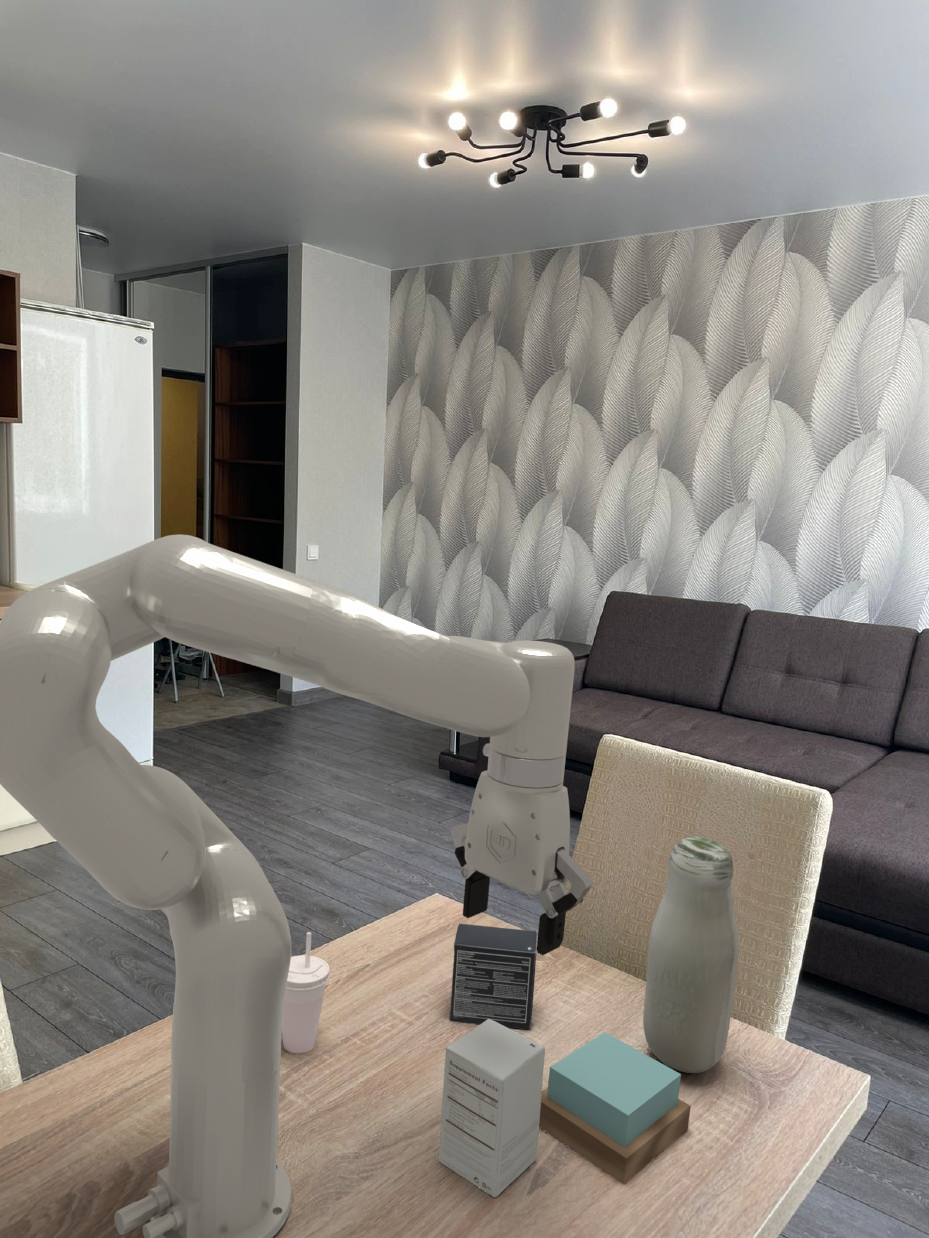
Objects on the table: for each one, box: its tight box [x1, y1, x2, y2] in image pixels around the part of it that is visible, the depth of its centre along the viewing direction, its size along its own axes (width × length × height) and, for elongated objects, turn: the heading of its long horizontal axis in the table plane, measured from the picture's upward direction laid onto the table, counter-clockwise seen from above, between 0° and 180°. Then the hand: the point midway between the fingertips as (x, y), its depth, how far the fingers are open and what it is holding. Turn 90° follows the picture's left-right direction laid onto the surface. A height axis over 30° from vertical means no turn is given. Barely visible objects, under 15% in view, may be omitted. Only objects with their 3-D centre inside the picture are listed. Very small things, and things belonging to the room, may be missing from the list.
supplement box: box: [438, 1019, 546, 1198], centre depth 92 cm, size 7×7×13 cm
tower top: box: [547, 1031, 682, 1147], centre depth 99 cm, size 10×10×4 cm
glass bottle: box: [642, 836, 740, 1074], centre depth 110 cm, size 10×10×28 cm
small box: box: [448, 923, 538, 1030], centre depth 119 cm, size 11×6×10 cm, turn 84°
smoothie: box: [281, 931, 331, 1054], centre depth 109 cm, size 6×6×14 cm
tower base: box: [539, 1086, 692, 1185], centre depth 100 cm, size 12×12×4 cm
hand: (510, 931), depth 93 cm, fingers open, 9 cm apart
